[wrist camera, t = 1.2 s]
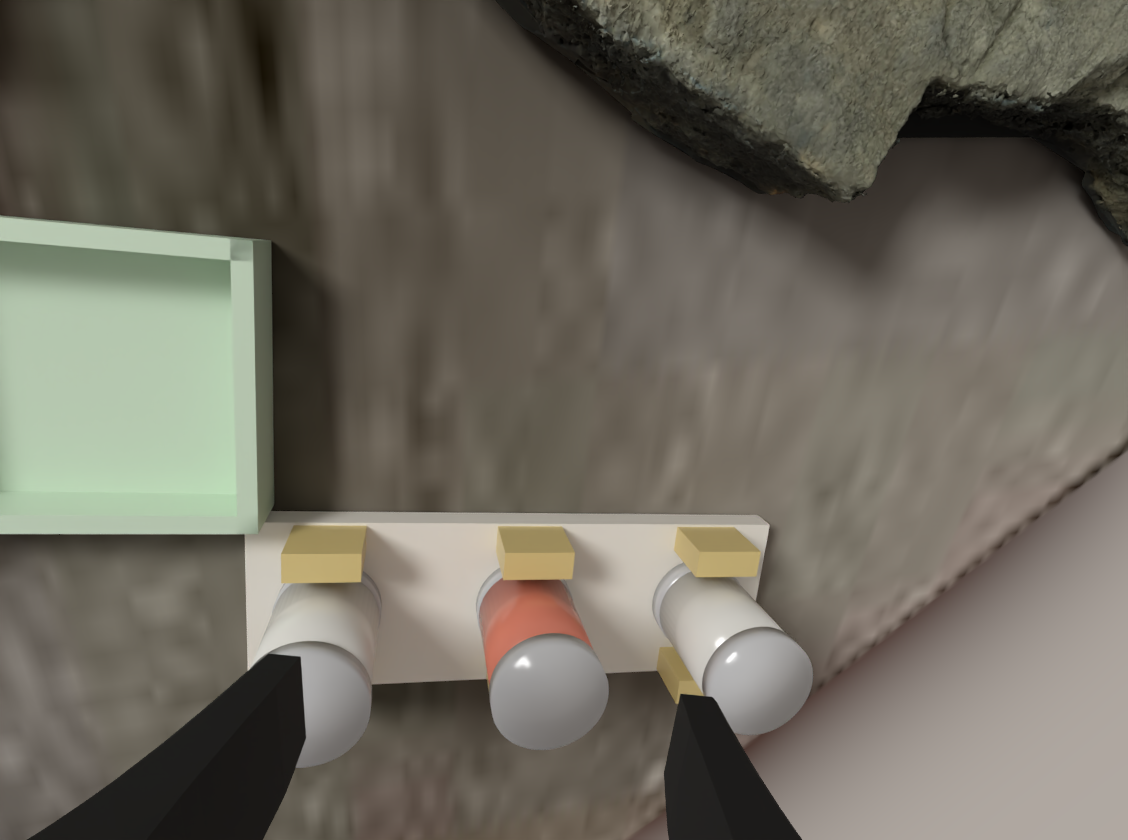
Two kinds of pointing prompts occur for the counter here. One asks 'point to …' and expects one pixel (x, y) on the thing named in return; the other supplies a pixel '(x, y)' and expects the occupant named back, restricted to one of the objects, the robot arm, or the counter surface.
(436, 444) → the counter surface
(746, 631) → the grey fuse
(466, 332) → the counter surface
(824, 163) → the stone
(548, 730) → the red fuse
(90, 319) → the tray
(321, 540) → the fuse block
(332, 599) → the grey fuse
